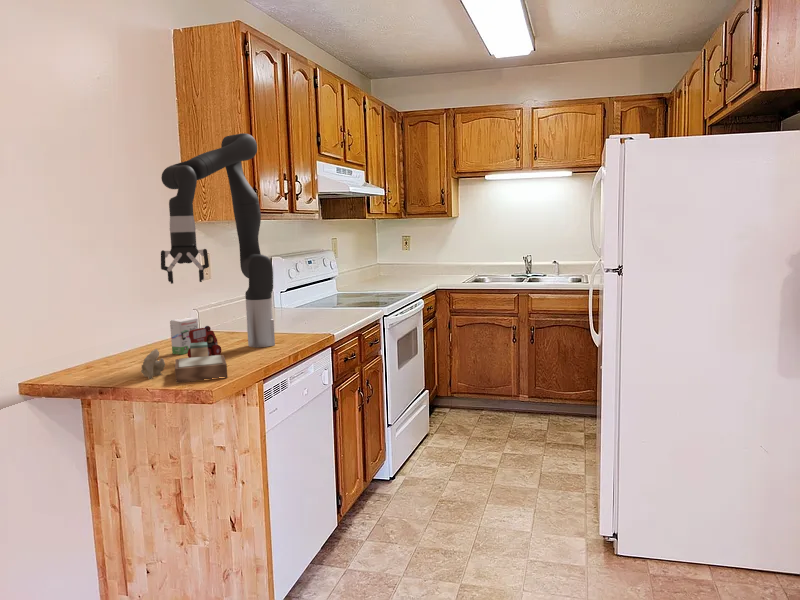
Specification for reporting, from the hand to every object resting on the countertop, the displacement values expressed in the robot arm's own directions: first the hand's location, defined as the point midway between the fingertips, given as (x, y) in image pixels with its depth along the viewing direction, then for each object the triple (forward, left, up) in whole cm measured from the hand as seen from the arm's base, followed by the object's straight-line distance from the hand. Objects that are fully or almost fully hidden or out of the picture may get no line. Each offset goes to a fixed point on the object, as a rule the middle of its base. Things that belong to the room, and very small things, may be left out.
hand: (186, 282), depth 195 cm
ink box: (+2, -22, -26) cm, 34 cm away
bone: (+12, +12, -26) cm, 31 cm away
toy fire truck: (-4, -9, -26) cm, 28 cm away
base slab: (-2, +17, -26) cm, 31 cm away
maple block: (-2, +4, -26) cm, 27 cm away
